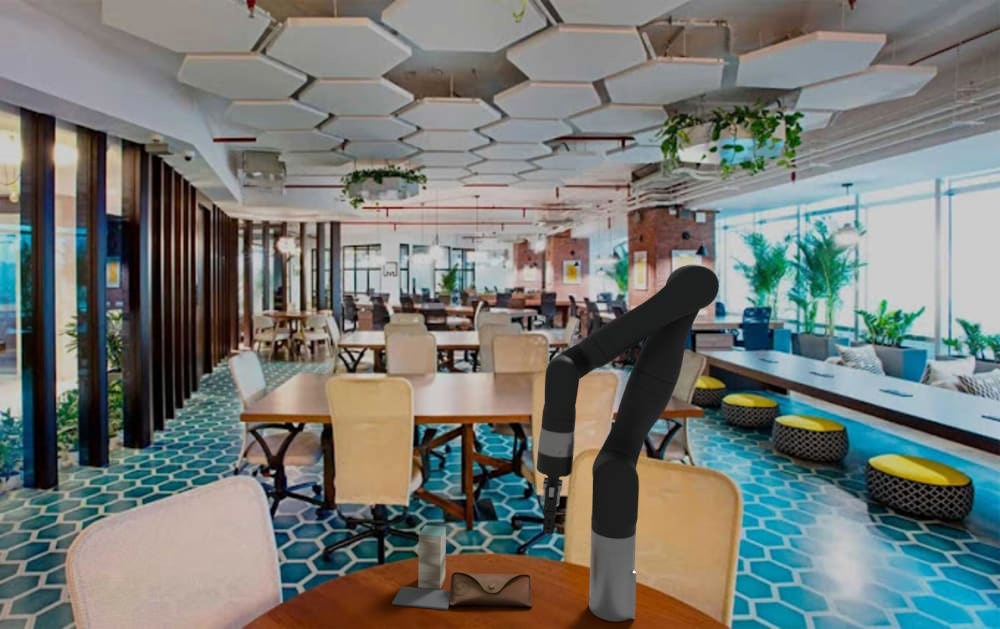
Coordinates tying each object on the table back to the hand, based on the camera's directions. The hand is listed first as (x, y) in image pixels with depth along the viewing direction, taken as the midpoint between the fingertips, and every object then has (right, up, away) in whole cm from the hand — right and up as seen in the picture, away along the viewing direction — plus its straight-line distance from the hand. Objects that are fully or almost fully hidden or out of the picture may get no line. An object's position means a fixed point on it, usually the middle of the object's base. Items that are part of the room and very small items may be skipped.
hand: (549, 524), depth 117 cm
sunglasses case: (-12, -17, +3) cm, 21 cm away
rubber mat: (-27, -17, +2) cm, 32 cm away
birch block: (-26, -17, +9) cm, 32 cm away
